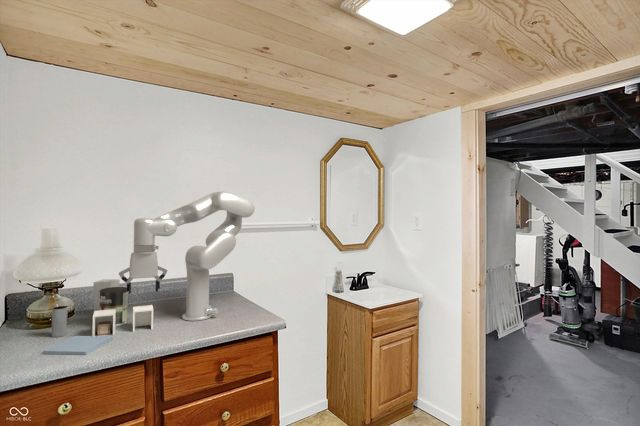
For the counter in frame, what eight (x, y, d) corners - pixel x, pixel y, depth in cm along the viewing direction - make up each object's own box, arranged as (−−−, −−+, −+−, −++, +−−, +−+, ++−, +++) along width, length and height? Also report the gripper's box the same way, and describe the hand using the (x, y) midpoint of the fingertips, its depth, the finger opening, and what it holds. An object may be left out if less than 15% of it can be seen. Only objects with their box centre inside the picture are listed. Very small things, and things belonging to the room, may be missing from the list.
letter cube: (98, 332, 132) (98, 322, 132) (110, 331, 134) (110, 320, 134) (97, 336, 128) (97, 325, 128) (110, 334, 130) (110, 323, 130)
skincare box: (120, 313, 157) (121, 279, 157) (110, 317, 150) (110, 282, 150) (103, 312, 158) (103, 278, 158) (92, 316, 151) (93, 281, 151)
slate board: (112, 339, 125) (112, 336, 125) (85, 354, 111) (85, 351, 111) (74, 338, 125) (74, 335, 125) (42, 353, 111) (42, 350, 111)
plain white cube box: (132, 326, 139) (133, 306, 139) (152, 324, 142) (152, 304, 142) (132, 331, 133) (133, 311, 133) (152, 329, 136) (153, 308, 136)
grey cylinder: (54, 338, 125) (55, 309, 125) (49, 335, 127) (50, 307, 127) (69, 334, 129) (69, 307, 129) (63, 332, 131) (64, 305, 131)
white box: (94, 331, 132) (94, 311, 132) (115, 329, 136) (115, 308, 136) (92, 337, 126) (92, 315, 126) (114, 334, 129) (115, 313, 129)
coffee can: (111, 328, 136) (111, 292, 136) (92, 325, 140) (93, 290, 140) (133, 321, 146) (134, 287, 146) (115, 318, 149) (116, 285, 150)
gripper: (166, 247, 145) (166, 288, 145) (119, 249, 137) (118, 292, 137) (168, 249, 139) (167, 291, 139) (118, 251, 130) (118, 296, 130)
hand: (143, 292), depth 138 cm, fingers open, 9 cm apart
